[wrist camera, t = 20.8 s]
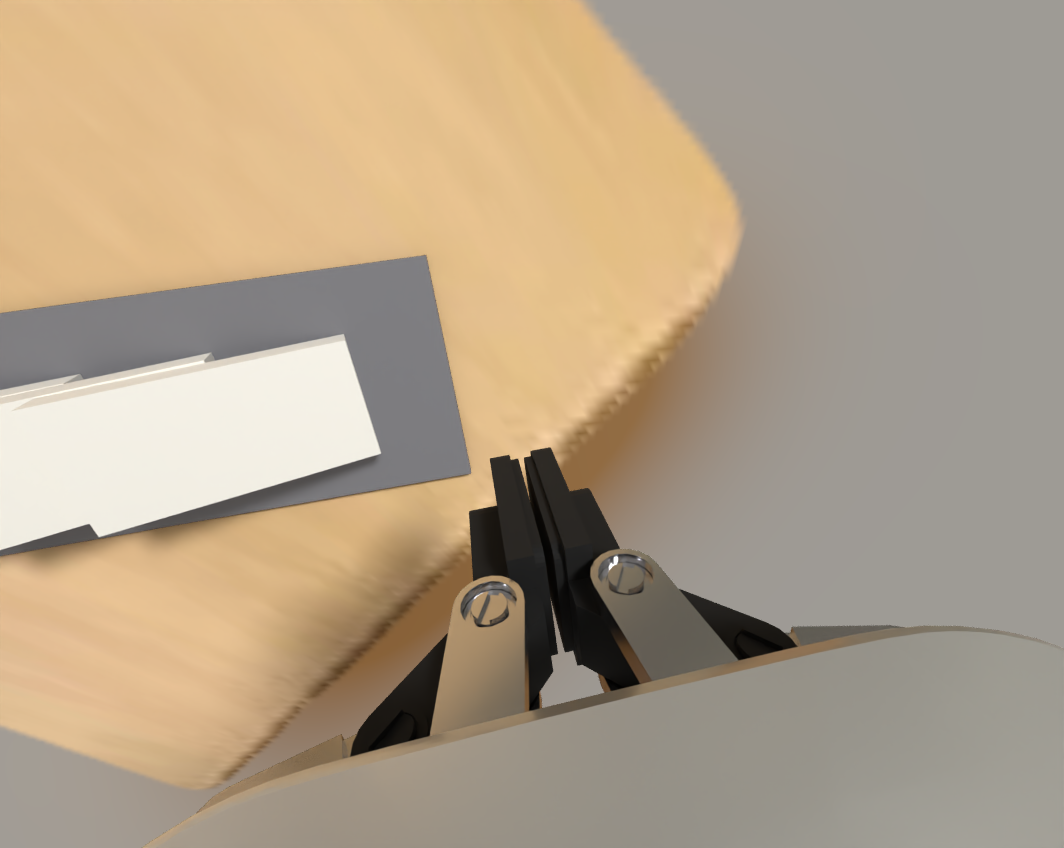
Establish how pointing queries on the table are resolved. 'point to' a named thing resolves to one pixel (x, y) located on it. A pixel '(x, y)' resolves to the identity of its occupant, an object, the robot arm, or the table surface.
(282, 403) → the domino
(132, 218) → the table surface
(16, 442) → the domino
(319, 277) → the rubber mat
